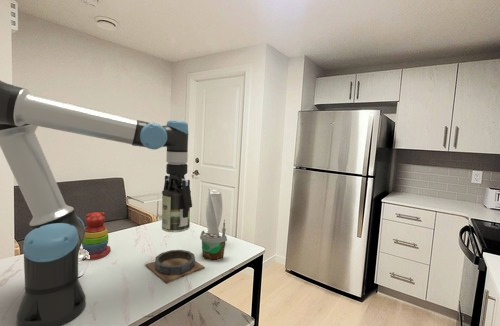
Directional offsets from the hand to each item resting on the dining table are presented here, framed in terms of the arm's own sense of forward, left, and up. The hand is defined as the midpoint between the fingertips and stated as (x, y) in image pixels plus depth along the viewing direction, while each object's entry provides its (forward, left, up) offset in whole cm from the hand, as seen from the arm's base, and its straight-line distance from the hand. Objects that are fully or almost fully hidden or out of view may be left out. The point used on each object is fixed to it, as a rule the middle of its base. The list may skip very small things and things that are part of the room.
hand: (176, 221), depth 99 cm
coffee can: (0, 0, -2) cm, 2 cm away
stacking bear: (-19, +30, -18) cm, 40 cm away
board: (0, 0, -18) cm, 18 cm away
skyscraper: (+24, +7, -19) cm, 31 cm away
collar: (0, 0, -18) cm, 18 cm away
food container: (+15, -2, -18) cm, 24 cm away
